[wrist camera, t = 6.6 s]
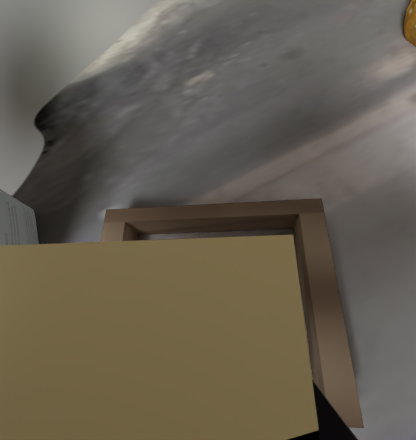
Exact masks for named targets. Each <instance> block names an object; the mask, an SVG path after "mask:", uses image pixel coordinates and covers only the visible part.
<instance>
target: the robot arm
mask: <svg viewBox="0 0 416 440" xmlns="http://www.w3.org/2000/svg"><path fill="white" fill-rule="evenodd" d="M312 382H313V390H314V397H315V405H316V412H317V420H318V428H319V440H358V439H357V438H356V437H355V435H354V434H353V433H352V431H351V430H350V429H349V427H348V426H347V425H346V423H345V422H344V421H343V419H342V418H341V417H340V416H339V414H338V413H337V412H336V410H335V409H334V408H333V406H332V405H331V404H330V402H329V401H328V400H327V398H326V397H325V396H324V394H323V393H322V392H321V390H320V389H319V388H318V386H317V385H316V384H315V383H314V381H313V380H312Z"/></svg>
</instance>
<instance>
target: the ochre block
mask: <svg viewBox="0 0 416 440" xmlns="http://www.w3.org/2000/svg"><path fill="white" fill-rule="evenodd" d="M0 440H319V428H318V420H317V412H316V405H315V397H314V390H313V382H312V374H311V367H310V359H309V352H308V344H307V336H306V329H305V321H304V314H303V306H302V298H301V291H300V283H299V276H298V268H297V260H296V253H295V245H294V238H293V235H270V236H244V237H217V238H191V239H165V240H138V241H112V242H85V243H59V244H32V245H6V246H0Z"/></svg>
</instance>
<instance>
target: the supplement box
mask: <svg viewBox="0 0 416 440" xmlns="http://www.w3.org/2000/svg"><path fill="white" fill-rule="evenodd" d="M32 244H39V240H38V233H37V226H36V218H35V213H34V210H33V209H32V208H30V207H29V206H27V205H25V204H23V203H22V202H20V201H18V200H17V199H15V198H14V197H12V196H10V195H9V194H7V193H5V192H4V191H2V190H0V246H6V245H32Z"/></svg>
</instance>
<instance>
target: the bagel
mask: <svg viewBox="0 0 416 440" xmlns="http://www.w3.org/2000/svg"><path fill="white" fill-rule="evenodd" d="M403 30H404V34H405V38H406V40H408V41H409V42H410V43H412V44H413V45H414V46H416V0H411V1H410V4H409V6H408V8H407V10H406V17H405V22H404V28H403Z"/></svg>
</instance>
